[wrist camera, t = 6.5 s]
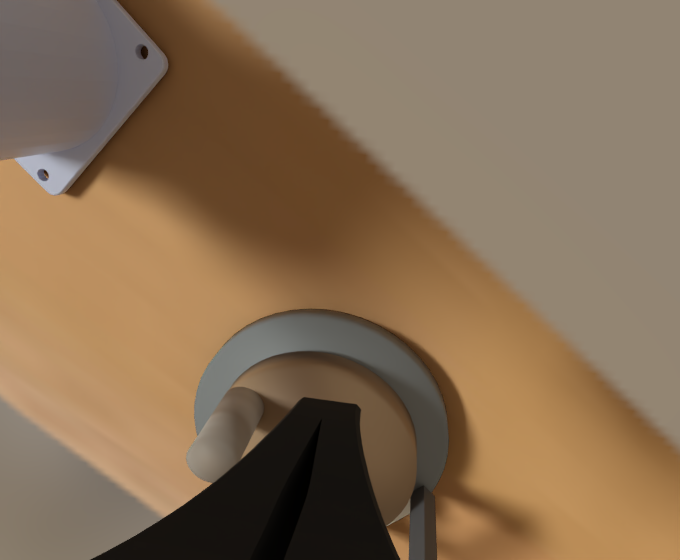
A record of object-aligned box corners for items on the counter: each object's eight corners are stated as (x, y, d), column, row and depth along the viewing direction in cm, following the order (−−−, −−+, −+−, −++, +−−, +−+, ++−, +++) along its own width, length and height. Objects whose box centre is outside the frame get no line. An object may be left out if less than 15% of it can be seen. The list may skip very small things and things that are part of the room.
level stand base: (156, 399, 25) (79, 486, 19) (328, 256, 21) (295, 314, 15) (314, 551, 27) (287, 670, 21) (500, 448, 23) (527, 562, 17)
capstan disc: (257, 525, 25) (219, 623, 20) (191, 370, 22) (130, 442, 18) (436, 507, 23) (441, 612, 18) (388, 333, 20) (378, 404, 15)
